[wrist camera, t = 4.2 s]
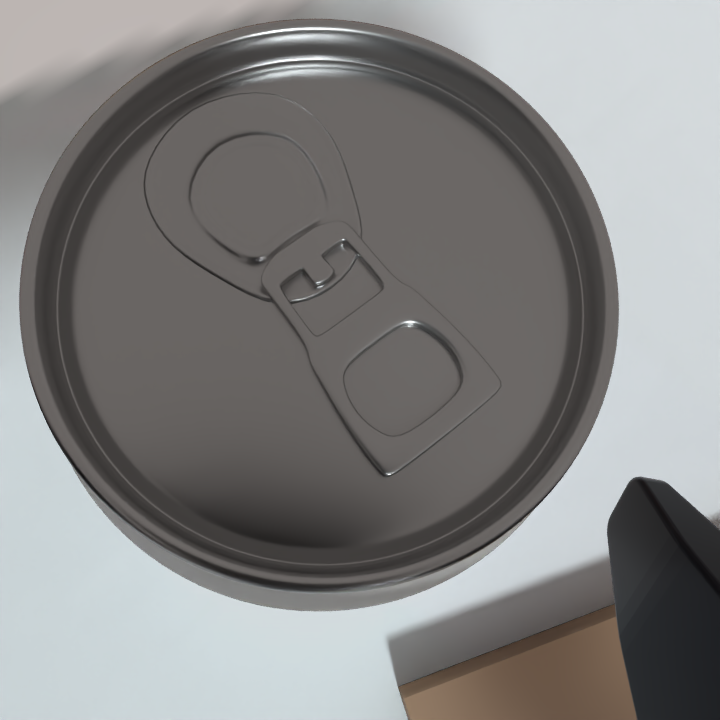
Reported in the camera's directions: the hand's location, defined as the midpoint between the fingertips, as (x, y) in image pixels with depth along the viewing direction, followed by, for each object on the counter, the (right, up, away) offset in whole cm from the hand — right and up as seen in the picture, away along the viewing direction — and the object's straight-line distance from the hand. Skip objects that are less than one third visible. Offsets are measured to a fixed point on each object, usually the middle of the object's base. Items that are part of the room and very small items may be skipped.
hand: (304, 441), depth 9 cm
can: (-1, -1, +9) cm, 9 cm away
